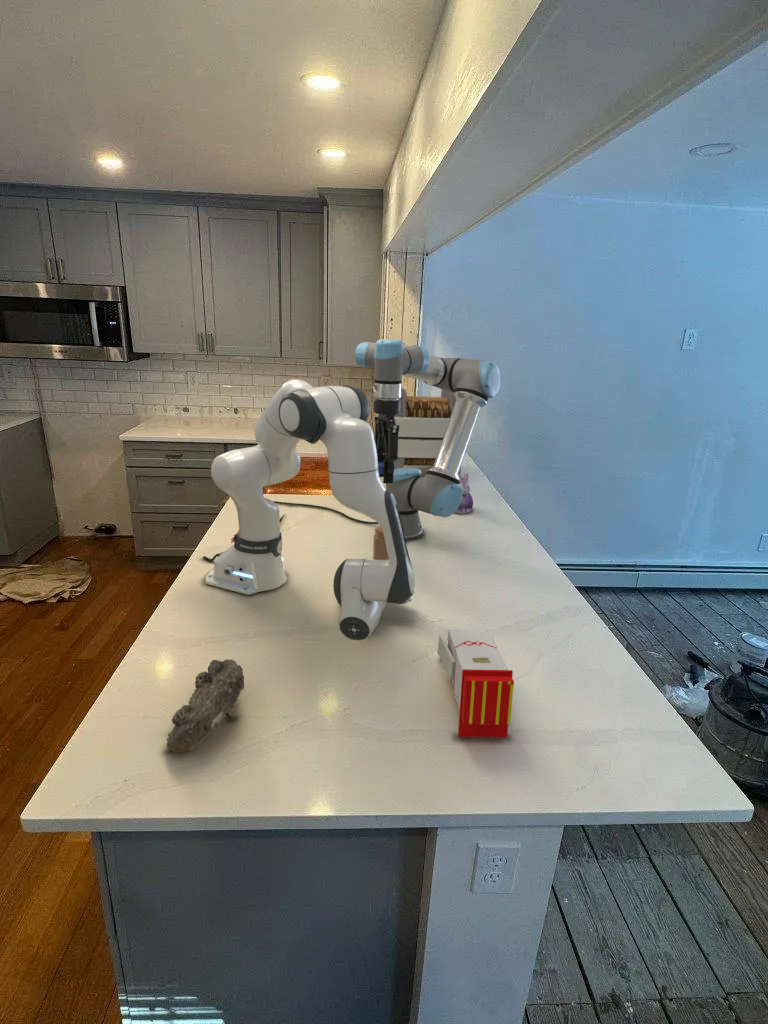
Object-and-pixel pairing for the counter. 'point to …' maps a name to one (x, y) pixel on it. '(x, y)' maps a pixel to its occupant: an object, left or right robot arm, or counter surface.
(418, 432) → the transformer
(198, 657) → the counter surface
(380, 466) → the lid
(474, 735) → the toy
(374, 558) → the jar
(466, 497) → the figurine
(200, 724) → the fossil
